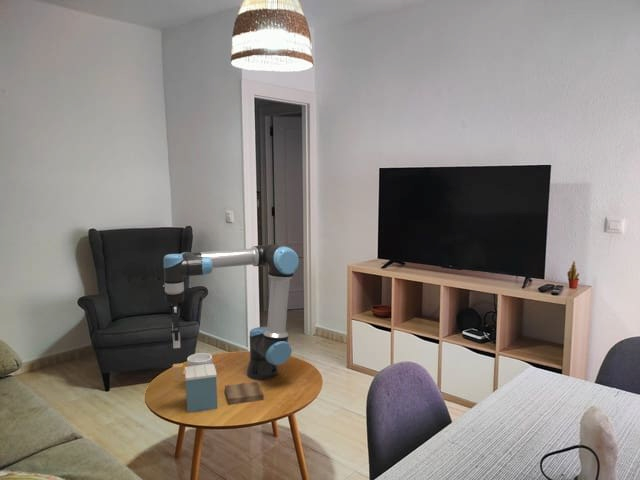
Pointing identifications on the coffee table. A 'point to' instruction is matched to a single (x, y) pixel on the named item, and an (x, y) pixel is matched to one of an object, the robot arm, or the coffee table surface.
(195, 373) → the lid
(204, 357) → the cup
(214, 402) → the tub
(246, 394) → the board
